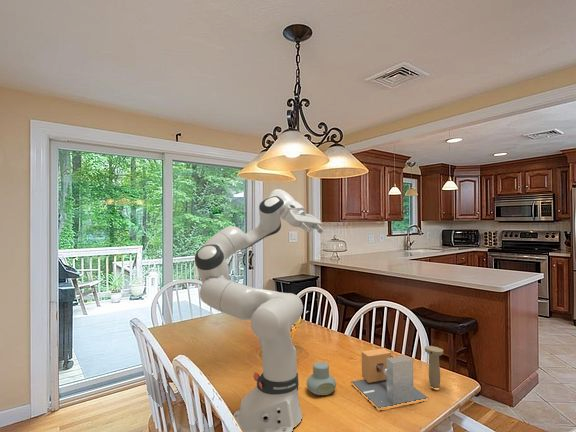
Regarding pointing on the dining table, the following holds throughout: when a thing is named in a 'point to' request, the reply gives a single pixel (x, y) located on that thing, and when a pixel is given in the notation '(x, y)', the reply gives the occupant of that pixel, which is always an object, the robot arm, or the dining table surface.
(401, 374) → the grey block with rod
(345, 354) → the dining table surface
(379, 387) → the base board
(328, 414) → the dining table surface
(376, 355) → the orange block
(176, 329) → the dining table surface
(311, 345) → the dining table surface
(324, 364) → the air freshener
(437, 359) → the handle
